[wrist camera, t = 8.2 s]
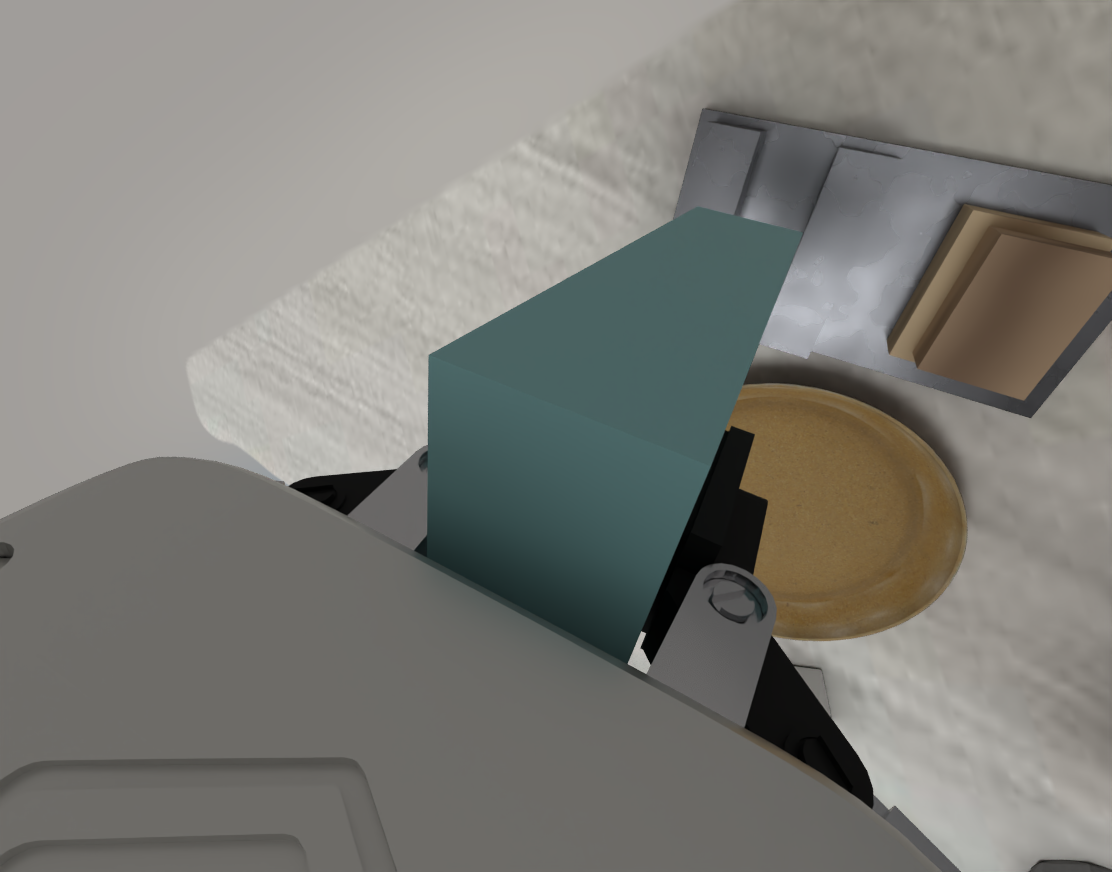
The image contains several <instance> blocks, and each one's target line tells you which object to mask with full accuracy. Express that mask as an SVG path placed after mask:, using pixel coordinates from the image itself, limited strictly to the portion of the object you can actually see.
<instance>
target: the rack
mask: <svg viewBox="0 0 1112 872" xmlns="http://www.w3.org/2000/svg"><path fill="white" fill-rule="evenodd" d="M964 204H967V205H972V206H976V207H981V208H986V209H991V210H995V211H1000V212H1005V213H1010V214H1014V215H1019V216H1024V217H1029V218H1033V219H1038V220H1043V221H1048V222H1052V223H1057V224H1062V225H1067V226H1071V227H1076V228H1081V229H1086V230H1091V231H1095V232H1099V233H1101V234H1104V235H1106V236H1108V237H1110V238H1112V185H1109V184H1104V183H1099V182H1093V181H1088V180H1083V179H1077V178H1072V177H1067V176H1061V175H1056V174H1051V173H1045V172H1040V171H1035V170H1029V169H1024V168H1019V167H1013V166H1008V165H1003V164H997V163H992V162H987V161H981V160H976V159H971V158H965V157H960V156H955V155H949V154H944V153H939V152H933V151H928V150H923V149H917V148H912V147H907V146H901V145H896V144H891V143H885V142H880V141H875V140H869V139H864V138H859V137H853V136H848V135H843V134H837V133H832V132H827V131H821V130H816V129H811V128H805V127H800V126H795V125H789V124H784V123H779V122H773V121H768V120H763V119H757V118H752V117H747V116H741V115H736V114H731V113H725V112H720V111H715V110H709V109H702V113H701V117H700V120H699V124H698V128H697V132H696V135H695V139H694V143H693V147H692V151H691V154H690V158H689V162H688V166H687V169H686V173H685V177H684V181H683V184H682V188H681V192H680V196H679V200H678V203H677V207H676V211H675V215H674V218H673V220H674V219H676V218H678V217H679V216H681V215H683V214H685V213H687V212H688V211H690V210H692V209H694V208H696V207H698V206H699V207H703V208H707V209H711V210H715V211H719V212H723V213H727V214H731V215H735V216H739V217H743V218H747V219H751V220H755V221H759V222H763V223H767V224H771V225H775V226H779V227H783V228H787V229H791V230H795V231H799V232H803V234H802V237H801V239H800V242H799V244H798V247H797V250H796V252H795V255H794V257H793V260H792V262H791V265H790V267H789V270H788V272H787V275H786V277H785V280H784V282H783V285H782V287H781V290H780V293H779V295H778V298H777V300H776V303H775V305H774V308H773V310H772V313H771V315H770V318H769V320H768V323H767V325H766V328H765V330H764V333H763V336H762V338H761V341H760V343H759V344H761V345H764V346H767V347H770V348H774V349H777V350H780V351H783V352H786V353H790V354H793V355H796V356H799V357H803V358H806V359H808V357H809V355H810V353H811V351H812V352H816V353H819V354H822V355H826V356H829V357H832V358H835V359H839V360H842V361H845V362H848V363H852V364H855V365H858V366H862V367H865V368H868V369H871V370H875V371H878V372H881V373H884V374H888V375H891V376H894V377H898V378H901V379H904V380H907V381H911V382H914V383H917V384H920V385H924V386H927V387H930V388H934V389H937V390H940V391H943V392H947V393H950V394H953V395H956V396H960V397H963V398H966V399H970V400H973V401H976V402H979V403H983V404H986V405H989V406H992V407H996V408H999V409H1002V410H1005V411H1009V412H1012V413H1015V414H1019V415H1022V416H1025V417H1028V418H1031V417H1032V416H1033V415H1034V414H1035V412H1036V411H1037V410H1038V409H1039V408H1040V406H1041V405H1042V404H1043V403H1044V401H1045V400H1046V399H1047V398H1048V397H1049V395H1050V394H1051V393H1052V392H1053V391H1054V389H1055V388H1056V387H1057V386H1058V384H1059V383H1060V382H1061V381H1062V380H1063V378H1064V377H1065V376H1066V375H1067V374H1068V372H1069V371H1070V370H1071V369H1072V368H1073V366H1074V365H1075V364H1076V363H1077V361H1078V360H1079V359H1080V358H1081V357H1082V355H1083V354H1084V353H1085V352H1086V351H1087V349H1088V348H1089V347H1090V346H1091V344H1092V343H1093V342H1094V341H1095V340H1096V338H1097V337H1098V336H1099V335H1100V334H1101V332H1102V331H1103V330H1104V329H1105V327H1106V326H1107V325H1108V324H1109V323H1110V321H1111V320H1112V291H1111V292H1110V293H1109V294H1108V296H1107V297H1106V298H1105V299H1104V301H1103V302H1102V303H1101V304H1100V306H1099V307H1098V308H1097V310H1096V311H1095V312H1094V313H1093V315H1092V316H1091V317H1090V318H1089V320H1088V321H1087V322H1086V323H1085V325H1084V326H1083V327H1082V328H1081V330H1080V331H1079V332H1078V333H1077V335H1076V336H1075V337H1074V338H1073V340H1072V341H1071V342H1070V343H1069V345H1068V346H1067V347H1066V348H1065V350H1064V351H1063V352H1062V353H1061V355H1060V356H1059V357H1058V359H1057V360H1056V361H1055V362H1054V364H1053V365H1052V366H1051V367H1050V369H1049V370H1048V371H1047V372H1046V374H1045V375H1044V376H1043V377H1042V379H1041V380H1040V381H1039V382H1038V384H1037V385H1036V386H1035V387H1034V389H1033V390H1032V391H1031V392H1030V394H1029V395H1028V396H1027V397H1026V399H1025V400H1020V399H1017V398H1014V397H1010V396H1007V395H1003V394H1000V393H997V392H993V391H990V390H987V389H983V388H980V387H977V386H973V385H970V384H967V383H963V382H960V381H957V380H953V379H950V378H946V377H943V376H940V375H936V374H933V373H930V372H926V371H923V370H920V369H917V367H916V363H915V362H911V361H908V360H905V359H901V358H898V357H894V356H891V355H889V352H888V347H887V339H888V337H889V335H890V334H891V332H892V330H893V328H894V327H895V325H896V323H897V321H898V320H899V318H900V316H901V314H902V313H903V311H904V309H905V307H906V306H907V304H908V302H909V300H910V298H911V297H912V295H913V293H914V291H915V290H916V288H917V286H918V284H919V283H920V281H921V279H922V277H923V276H924V274H925V272H926V270H927V269H928V267H929V265H930V263H931V261H932V260H933V258H934V256H935V254H936V253H937V251H938V249H939V247H940V246H941V244H942V242H943V240H944V239H945V237H946V235H947V233H948V232H949V230H950V228H951V226H952V224H953V223H954V221H955V219H956V217H957V216H958V214H959V212H960V210H961V209H962V207H963V205H964ZM1110 252H1111V253H1112V250H1111V251H1110Z"/></svg>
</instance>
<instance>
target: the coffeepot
mask: <svg viewBox="0 0 1112 872" xmlns="http://www.w3.org/2000/svg"><path fill="white" fill-rule="evenodd" d="M1030 872H1112V870H1110V869H1107V868H1104V867H1101V866H1097V865H1093V864H1089V863H1084V862H1078V861H1069V860H1051V861H1045V862H1041V863H1039V864H1036V865H1035V866H1034V867H1032V868H1031V870H1030Z"/></svg>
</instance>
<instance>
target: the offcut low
mask: <svg viewBox="0 0 1112 872" xmlns="http://www.w3.org/2000/svg"><path fill="white" fill-rule="evenodd" d="M989 226H994V227H998V228H1003V229H1008V230H1012V231H1017V232H1021V233H1026V234H1031V235H1035V236H1040V237H1044V238H1049V239H1053V240H1058V241H1063V242H1067V243H1072V244H1076V245H1081V246H1086V247H1090V248H1095V249H1099V250H1104V251H1108V252H1110V251H1111V250H1112V238H1110V237H1108V236H1106V235H1104V234H1101V233H1099V232H1095V231H1091V230H1086V229H1081V228H1076V227H1071V226H1067V225H1062V224H1057V223H1052V222H1048V221H1043V220H1038V219H1033V218H1029V217H1024V216H1019V215H1014V214H1010V213H1005V212H1000V211H995V210H991V209H986V208H981V207H976V206H972V205H967V204H964V205H963V207H962V209H961V210H960V212H959V214H958V216H957V217H956V219H955V221H954V223H953V224H952V226H951V228H950V230H949V232H948V233H947V235H946V237H945V239H944V240H943V242H942V244H941V246H940V247H939V249H938V251H937V253H936V254H935V256H934V258H933V260H932V261H931V263H930V265H929V267H928V269H927V270H926V272H925V274H924V276H923V277H922V279H921V281H920V283H919V284H918V286H917V288H916V290H915V291H914V293H913V295H912V297H911V298H910V300H909V302H908V304H907V306H906V307H905V309H904V311H903V313H902V314H901V316H900V318H899V320H898V321H897V323H896V325H895V327H894V328H893V330H892V332H891V334H890V335H889V337H888V339H887V347H888V352H889V355H891V356H894V357H898V358H901V359H905V360H908V361H911V362H915V360H914V356H913V353H912V352H913V351H914V349H915V347H916V346H917V344H918V343H919V341H920V339H921V338H922V336H923V334H924V333H925V331H926V329H927V328H928V326H929V324H930V323H931V321H932V320H933V318H934V316H935V315H936V313H937V311H938V310H939V308H940V306H941V305H942V303H943V301H944V300H945V298H946V297H947V295H948V293H949V292H950V290H951V288H952V287H953V285H954V283H955V282H956V280H957V278H958V277H959V275H960V274H961V272H962V270H963V269H964V267H965V265H966V264H967V262H968V260H969V259H970V257H971V255H972V254H973V252H974V251H975V249H976V247H977V246H978V244H979V242H980V241H981V239H982V237H983V236H984V234H985V232H986V231H987V229H988V228H989Z"/></svg>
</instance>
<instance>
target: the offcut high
mask: <svg viewBox="0 0 1112 872" xmlns="http://www.w3.org/2000/svg"><path fill="white" fill-rule="evenodd" d="M1111 291H1112V253H1111V252H1108V251H1104V250H1099V249H1095V248H1090V247H1086V246H1081V245H1076V244H1072V243H1067V242H1063V241H1058V240H1053V239H1049V238H1044V237H1040V236H1035V235H1031V234H1026V233H1021V232H1017V231H1012V230H1008V229H1003V228H998V227H994V226H989V228H988V229H987V231H986V232H985V234H984V236H983V237H982V239H981V241H980V242H979V244H978V246H977V247H976V249H975V251H974V252H973V254H972V255H971V257H970V259H969V260H968V262H967V264H966V265H965V267H964V269H963V270H962V272H961V274H960V275H959V277H958V278H957V280H956V282H955V283H954V285H953V287H952V288H951V290H950V292H949V293H948V295H947V297H946V298H945V300H944V301H943V303H942V305H941V306H940V308H939V310H938V311H937V313H936V315H935V316H934V318H933V320H932V321H931V323H930V324H929V326H928V328H927V329H926V331H925V333H924V334H923V336H922V338H921V339H920V341H919V343H918V344H917V346H916V347H915V349H914V351H913V352H912V353H913V356H914V360H915V363H916V367H917V369H920V370H923V371H926V372H930V373H933V374H936V375H940V376H943V377H946V378H950V379H953V380H957V381H960V382H963V383H967V384H970V385H973V386H977V387H980V388H983V389H987V390H990V391H993V392H997V393H1000V394H1003V395H1007V396H1010V397H1014V398H1017V399H1020V400H1025V399H1026V397H1027V396H1028V395H1029V394H1030V392H1031V391H1032V390H1033V389H1034V387H1035V386H1036V385H1037V384H1038V382H1039V381H1040V380H1041V379H1042V377H1043V376H1044V375H1045V374H1046V372H1047V371H1048V370H1049V369H1050V367H1051V366H1052V365H1053V364H1054V362H1055V361H1056V360H1057V359H1058V357H1059V356H1060V355H1061V353H1062V352H1063V351H1064V350H1065V348H1066V347H1067V346H1068V345H1069V343H1070V342H1071V341H1072V340H1073V338H1074V337H1075V336H1076V335H1077V333H1078V332H1079V331H1080V330H1081V328H1082V327H1083V326H1084V325H1085V323H1086V322H1087V321H1088V320H1089V318H1090V317H1091V316H1092V315H1093V313H1094V312H1095V311H1096V310H1097V308H1098V307H1099V306H1100V304H1101V303H1102V302H1103V301H1104V299H1105V298H1106V297H1107V296H1108V294H1109V293H1110V292H1111Z"/></svg>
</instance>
